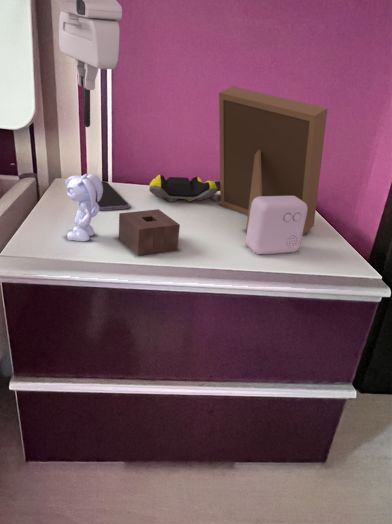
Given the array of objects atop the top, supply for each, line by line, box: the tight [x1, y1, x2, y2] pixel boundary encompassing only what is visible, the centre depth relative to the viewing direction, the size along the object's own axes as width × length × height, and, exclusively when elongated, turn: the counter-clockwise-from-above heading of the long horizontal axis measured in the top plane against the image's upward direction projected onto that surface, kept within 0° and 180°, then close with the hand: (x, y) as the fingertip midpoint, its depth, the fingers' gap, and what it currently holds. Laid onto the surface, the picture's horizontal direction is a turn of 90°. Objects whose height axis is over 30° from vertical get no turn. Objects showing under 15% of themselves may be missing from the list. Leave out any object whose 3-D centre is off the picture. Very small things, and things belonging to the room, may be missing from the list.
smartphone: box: [96, 180, 129, 211], centre depth 123 cm, size 7×1×15 cm
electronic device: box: [245, 196, 308, 255], centre depth 106 cm, size 10×5×10 cm, turn 111°
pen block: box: [118, 208, 181, 257], centre depth 103 cm, size 8×8×5 cm
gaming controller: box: [148, 174, 218, 202], centre depth 127 cm, size 15×6×10 cm
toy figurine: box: [64, 173, 103, 242], centre depth 101 cm, size 7×6×12 cm
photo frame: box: [218, 85, 328, 236], centre depth 114 cm, size 15×22×25 cm
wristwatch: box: [210, 180, 220, 202], centre depth 132 cm, size 4×6×5 cm
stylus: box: [83, 63, 91, 128], centre depth 106 cm, size 1×1×14 cm
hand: (86, 87), depth 106 cm, fingers closed on stylus, 1 cm apart
